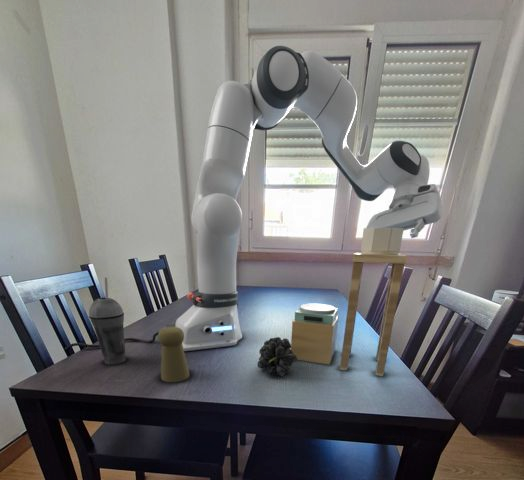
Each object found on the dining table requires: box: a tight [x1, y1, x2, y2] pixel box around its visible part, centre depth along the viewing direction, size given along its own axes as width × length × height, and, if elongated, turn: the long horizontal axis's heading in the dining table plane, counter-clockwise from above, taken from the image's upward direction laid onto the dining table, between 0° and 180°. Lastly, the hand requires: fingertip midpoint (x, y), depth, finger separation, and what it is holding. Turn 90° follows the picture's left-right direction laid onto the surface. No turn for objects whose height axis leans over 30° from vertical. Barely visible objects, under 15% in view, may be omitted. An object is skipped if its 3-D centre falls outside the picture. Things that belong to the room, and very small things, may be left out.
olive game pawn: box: [157, 326, 190, 383], centre depth 60 cm, size 6×6×11 cm
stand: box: [339, 252, 408, 377], centre depth 65 cm, size 12×10×26 cm
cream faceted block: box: [360, 227, 405, 255], centre depth 66 cm, size 19×8×5 cm, turn 159°
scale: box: [290, 302, 340, 366], centre depth 73 cm, size 10×10×13 cm
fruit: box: [257, 336, 298, 376], centre depth 66 cm, size 9×8×15 cm
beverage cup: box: [88, 277, 126, 365], centre depth 66 cm, size 7×7×20 cm
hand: (395, 240), depth 80 cm, fingers open, 8 cm apart
